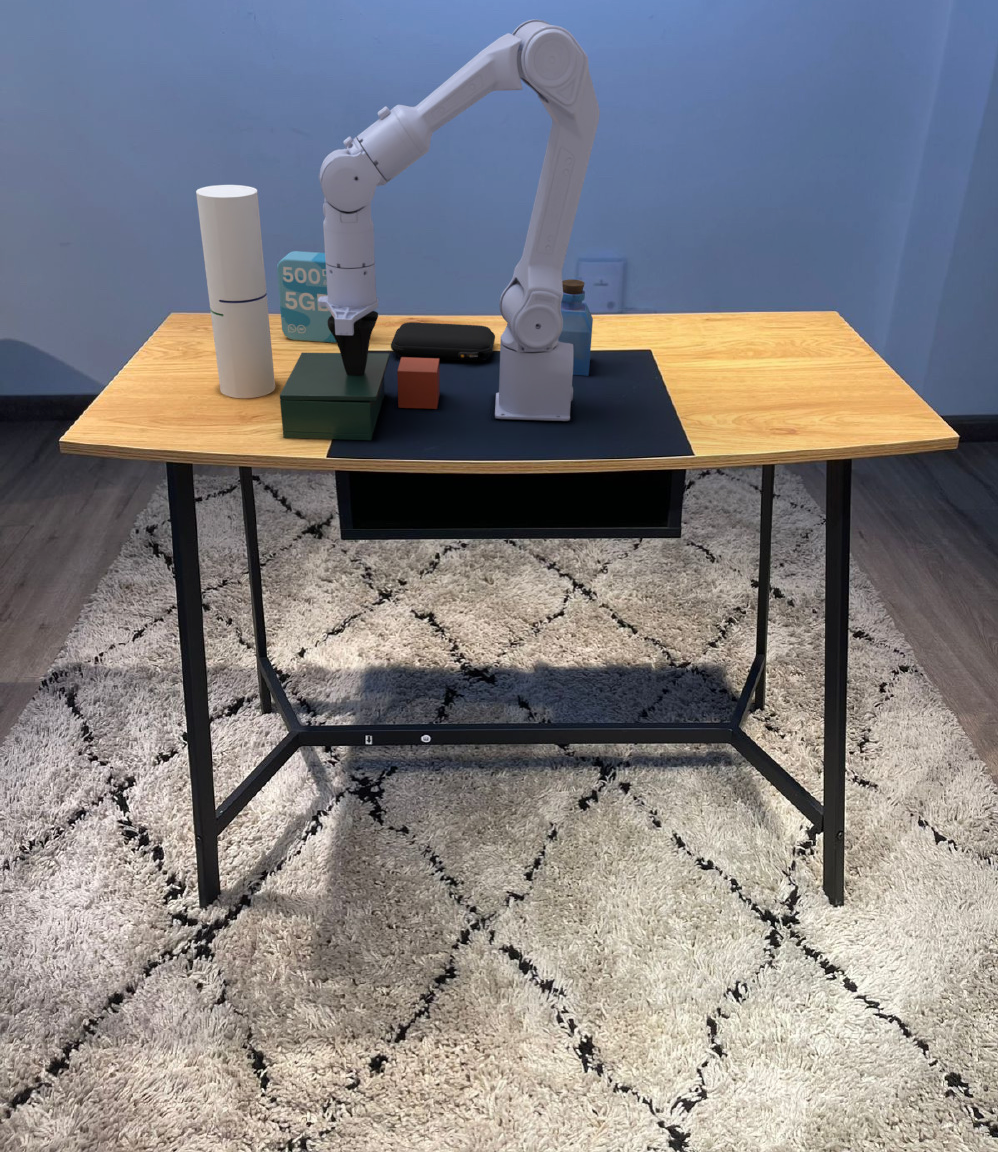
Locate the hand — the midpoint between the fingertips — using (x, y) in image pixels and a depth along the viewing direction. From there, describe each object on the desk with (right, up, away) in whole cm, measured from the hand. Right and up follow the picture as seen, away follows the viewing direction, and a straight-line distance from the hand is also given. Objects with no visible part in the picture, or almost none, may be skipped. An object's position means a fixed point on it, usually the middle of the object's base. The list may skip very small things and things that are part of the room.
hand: (355, 373), depth 126 cm
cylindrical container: (-16, 0, +10) cm, 19 cm away
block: (+7, -2, +8) cm, 11 cm away
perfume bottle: (+27, +5, +20) cm, 34 cm away
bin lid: (-2, 0, 0) cm, 2 cm away
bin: (-3, -5, +3) cm, 6 cm away
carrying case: (+10, +7, +23) cm, 26 cm away
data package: (-8, +11, +28) cm, 31 cm away
